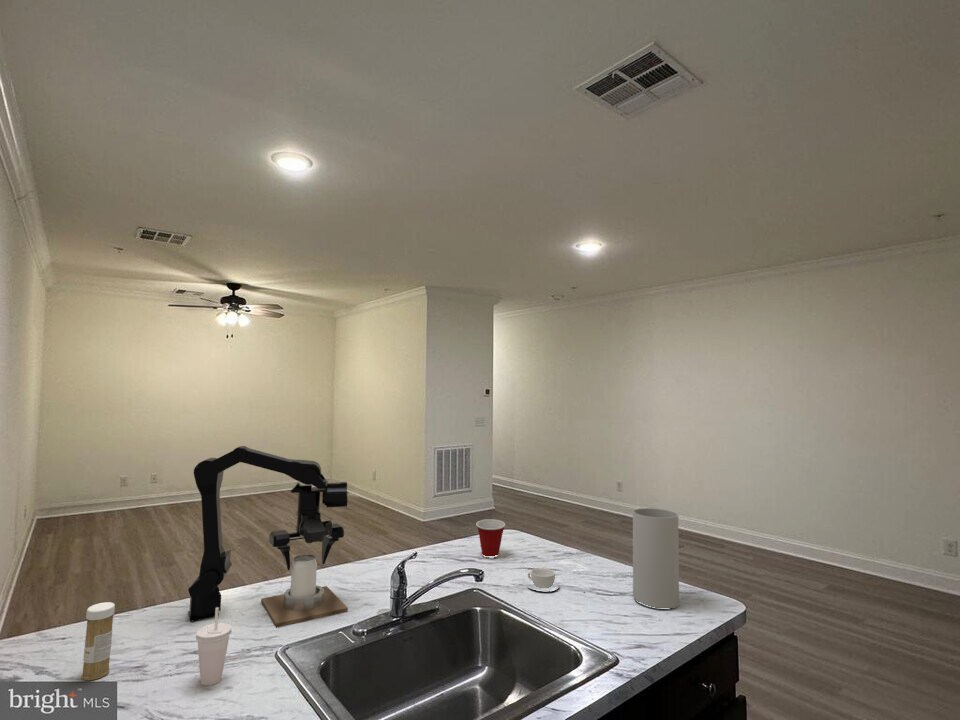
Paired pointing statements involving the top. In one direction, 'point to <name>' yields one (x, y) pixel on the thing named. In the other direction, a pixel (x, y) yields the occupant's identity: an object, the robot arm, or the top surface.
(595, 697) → the top surface
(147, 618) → the top surface
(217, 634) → the smoothie
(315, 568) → the can
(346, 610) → the base plate
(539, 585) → the teacup
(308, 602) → the ring collar
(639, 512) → the cylinder vase
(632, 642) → the top surface
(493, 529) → the plastic cup
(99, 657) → the sprinkles bottle
